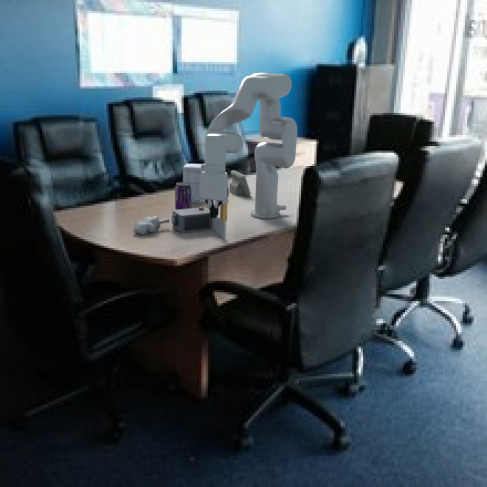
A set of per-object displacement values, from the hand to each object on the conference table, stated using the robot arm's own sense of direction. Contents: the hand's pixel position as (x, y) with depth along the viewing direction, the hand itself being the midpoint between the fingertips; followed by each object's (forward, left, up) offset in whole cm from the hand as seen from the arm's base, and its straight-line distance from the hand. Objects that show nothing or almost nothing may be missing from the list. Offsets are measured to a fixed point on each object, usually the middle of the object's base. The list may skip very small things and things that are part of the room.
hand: (213, 217), depth 214 cm
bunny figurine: (+18, -19, -9) cm, 28 cm away
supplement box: (-17, -58, -9) cm, 61 cm away
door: (-4, -4, -8) cm, 10 cm away
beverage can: (-5, -43, -9) cm, 44 cm away
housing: (+2, -16, -8) cm, 18 cm away
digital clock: (-45, -64, -9) cm, 78 cm away
